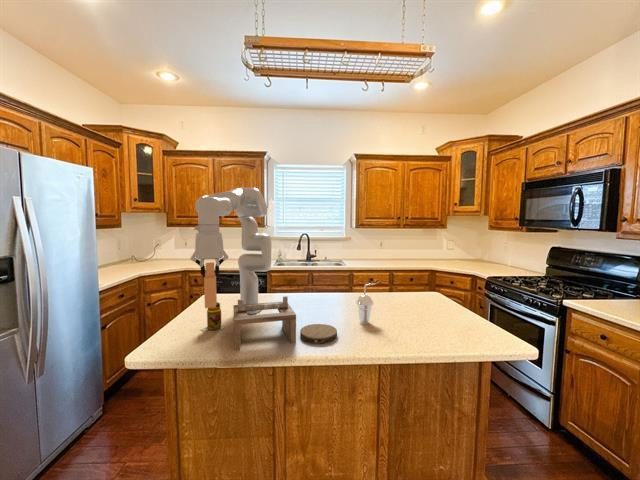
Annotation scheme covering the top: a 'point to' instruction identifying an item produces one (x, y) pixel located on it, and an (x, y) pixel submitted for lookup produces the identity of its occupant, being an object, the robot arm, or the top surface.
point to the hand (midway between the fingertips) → (210, 275)
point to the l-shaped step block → (210, 286)
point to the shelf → (265, 317)
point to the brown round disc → (318, 334)
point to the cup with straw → (364, 306)
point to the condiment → (213, 319)
